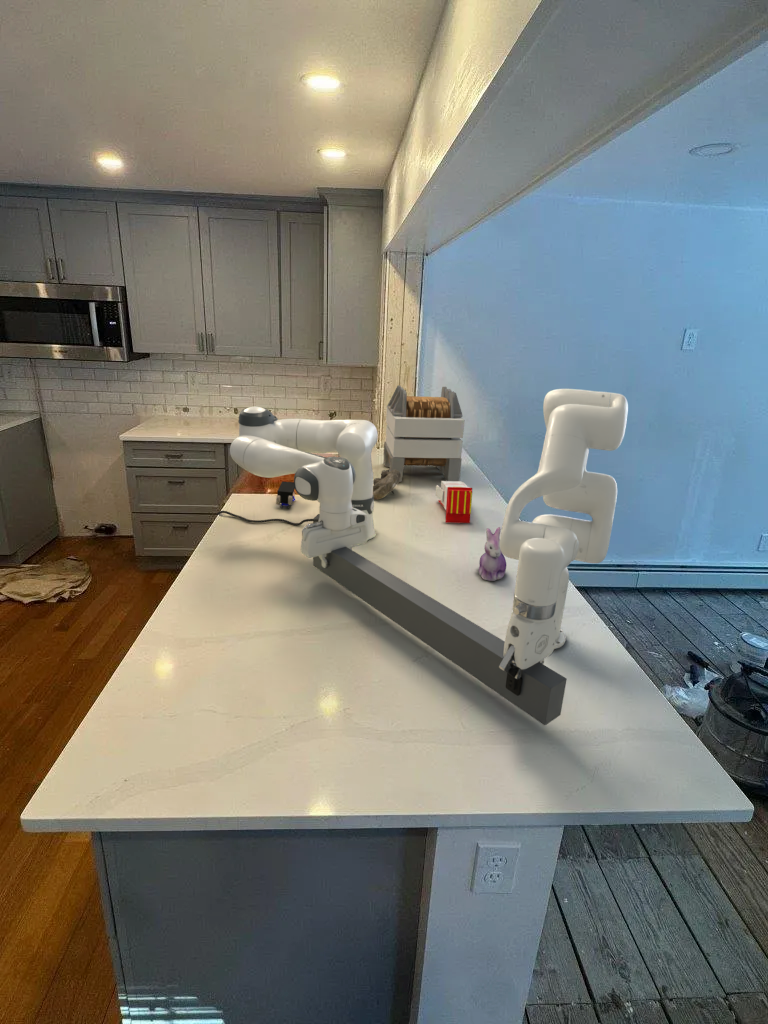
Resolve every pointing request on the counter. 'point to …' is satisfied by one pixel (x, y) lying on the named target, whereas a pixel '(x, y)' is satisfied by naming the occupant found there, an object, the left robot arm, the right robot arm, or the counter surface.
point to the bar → (446, 632)
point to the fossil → (385, 483)
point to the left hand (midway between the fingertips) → (335, 563)
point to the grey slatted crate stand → (424, 433)
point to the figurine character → (286, 494)
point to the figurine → (492, 558)
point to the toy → (455, 501)
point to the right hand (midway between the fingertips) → (522, 684)
